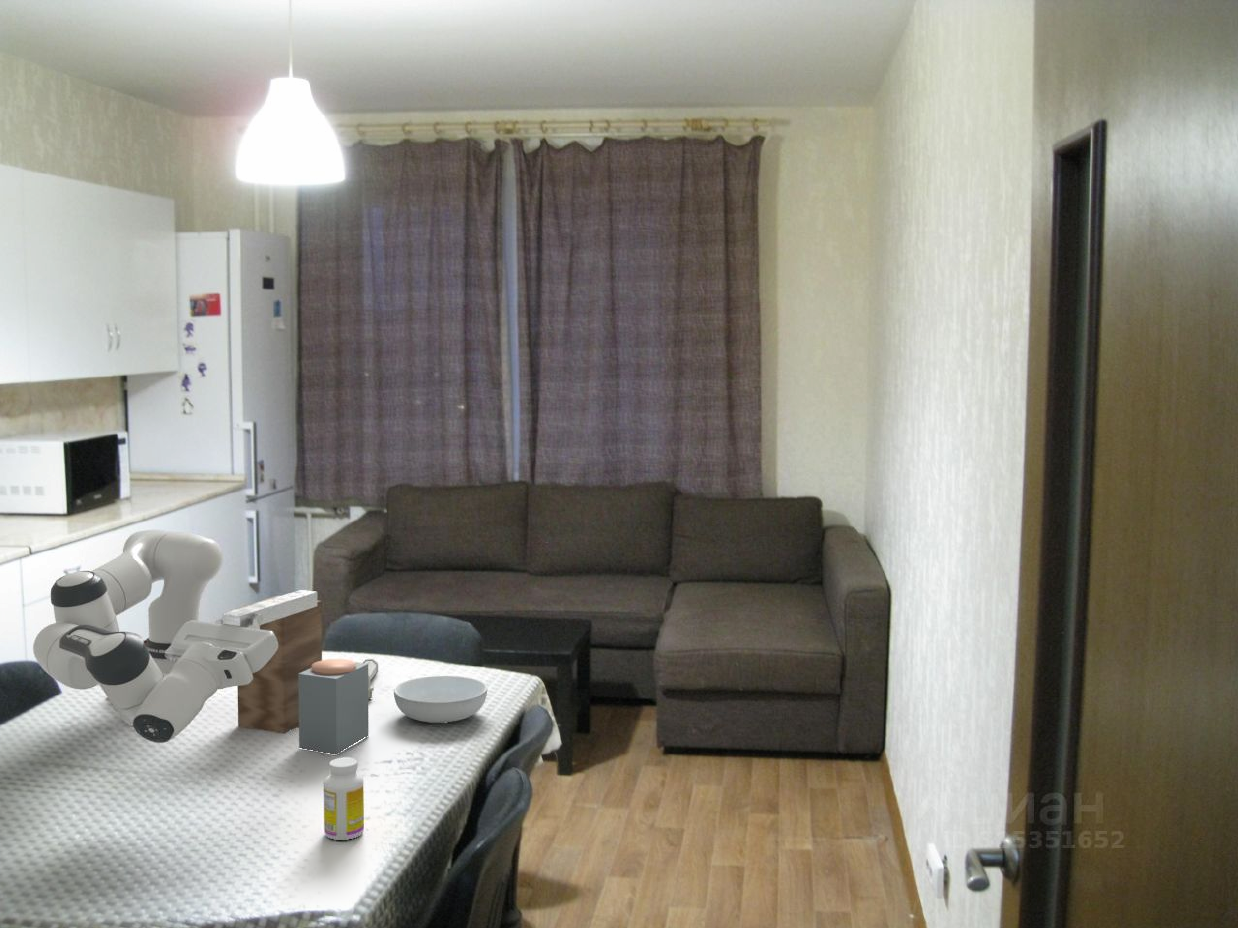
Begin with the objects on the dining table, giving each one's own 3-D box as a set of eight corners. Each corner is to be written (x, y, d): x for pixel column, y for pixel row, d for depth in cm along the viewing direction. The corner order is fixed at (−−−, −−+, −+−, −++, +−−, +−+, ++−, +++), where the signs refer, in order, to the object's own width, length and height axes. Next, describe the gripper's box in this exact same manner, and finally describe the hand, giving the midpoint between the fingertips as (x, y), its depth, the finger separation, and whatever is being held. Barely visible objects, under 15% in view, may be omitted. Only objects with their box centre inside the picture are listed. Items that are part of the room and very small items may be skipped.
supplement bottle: (367, 826, 209) (366, 755, 207) (360, 842, 202) (359, 769, 201) (328, 826, 208) (328, 754, 207) (320, 842, 202) (319, 768, 200)
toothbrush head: (381, 657, 302) (372, 671, 277) (380, 683, 302) (372, 700, 277) (360, 657, 302) (349, 672, 277) (359, 684, 301) (349, 701, 277)
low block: (299, 749, 246) (298, 669, 244) (332, 731, 257) (331, 655, 255) (336, 755, 243) (336, 674, 241) (368, 737, 254) (368, 660, 252)
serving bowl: (495, 705, 278) (496, 676, 277) (475, 735, 257) (476, 704, 256) (408, 700, 280) (408, 672, 279) (381, 730, 259) (381, 699, 258)
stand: (238, 725, 259) (236, 608, 256) (277, 707, 272) (276, 595, 270) (284, 733, 255) (283, 614, 252) (322, 714, 268) (321, 600, 265)
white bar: (222, 629, 224) (222, 613, 223) (301, 604, 246) (301, 589, 246) (240, 631, 222) (240, 615, 222) (317, 606, 244) (317, 591, 244)
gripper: (166, 671, 222) (209, 621, 233) (256, 685, 215) (297, 633, 225) (153, 646, 219) (198, 596, 229) (245, 659, 211) (287, 608, 222)
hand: (248, 614), depth 227 cm, fingers closed on white bar, 4 cm apart
